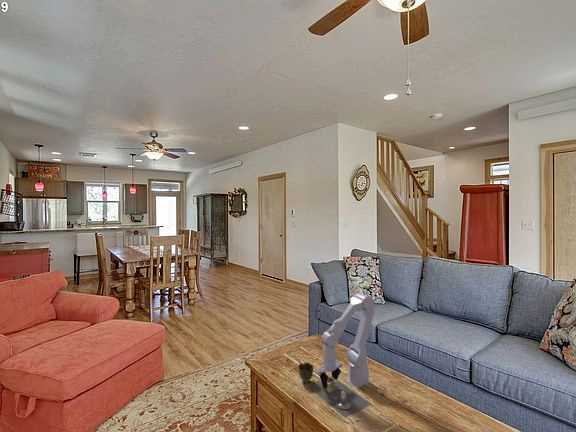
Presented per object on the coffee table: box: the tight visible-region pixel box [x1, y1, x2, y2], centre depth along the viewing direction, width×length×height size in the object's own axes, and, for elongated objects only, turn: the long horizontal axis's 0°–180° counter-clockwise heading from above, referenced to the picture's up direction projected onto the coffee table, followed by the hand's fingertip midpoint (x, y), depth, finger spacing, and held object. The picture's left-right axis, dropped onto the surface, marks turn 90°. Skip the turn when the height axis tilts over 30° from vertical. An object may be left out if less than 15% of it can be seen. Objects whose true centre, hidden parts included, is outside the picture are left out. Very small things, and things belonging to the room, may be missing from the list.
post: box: [335, 390, 352, 410], centre depth 132 cm, size 7×7×6 cm
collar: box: [322, 375, 338, 392], centre depth 145 cm, size 5×5×4 cm
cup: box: [298, 362, 314, 384], centre depth 151 cm, size 8×7×8 cm
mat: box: [307, 379, 373, 418], centre depth 139 cm, size 16×26×1 cm, turn 32°
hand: (329, 385), depth 145 cm, fingers closed on collar, 5 cm apart
